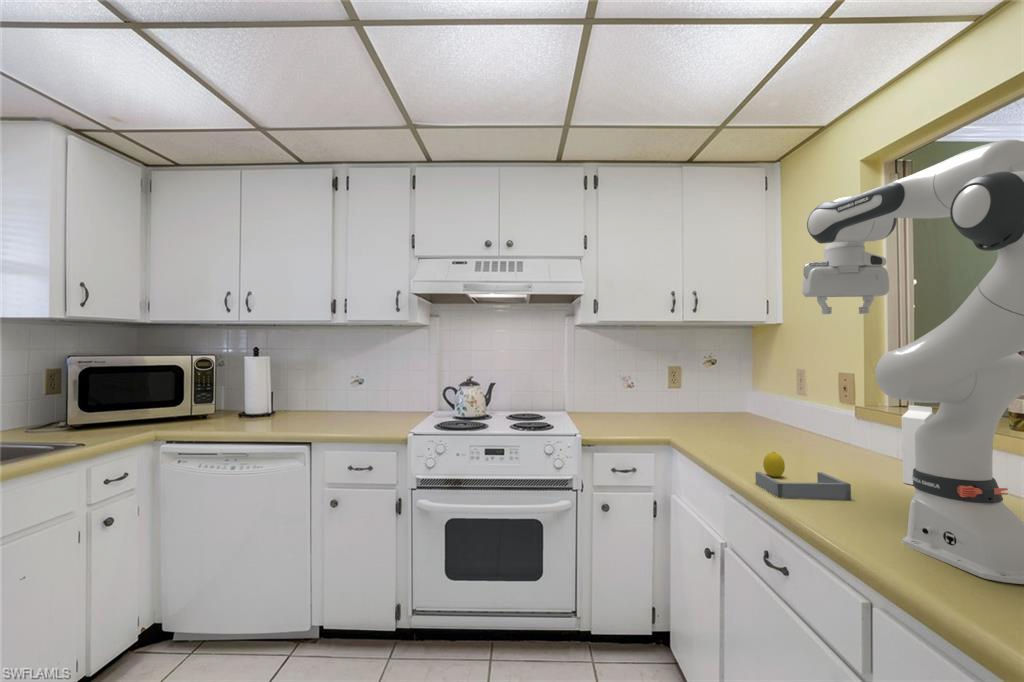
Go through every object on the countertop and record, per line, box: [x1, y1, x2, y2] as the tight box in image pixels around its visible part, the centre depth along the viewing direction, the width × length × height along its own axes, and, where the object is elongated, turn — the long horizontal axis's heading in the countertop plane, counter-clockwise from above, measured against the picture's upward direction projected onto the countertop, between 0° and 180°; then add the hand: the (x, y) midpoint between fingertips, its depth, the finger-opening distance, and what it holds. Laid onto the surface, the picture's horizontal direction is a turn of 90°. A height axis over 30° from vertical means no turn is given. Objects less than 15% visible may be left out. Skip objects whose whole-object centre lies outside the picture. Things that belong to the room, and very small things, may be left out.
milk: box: [901, 404, 936, 486], centre depth 133 cm, size 6×6×22 cm
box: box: [755, 471, 852, 501], centre depth 126 cm, size 12×18×4 cm, turn 87°
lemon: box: [763, 451, 786, 478], centre depth 140 cm, size 6×6×8 cm
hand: (845, 313), depth 124 cm, fingers open, 8 cm apart
